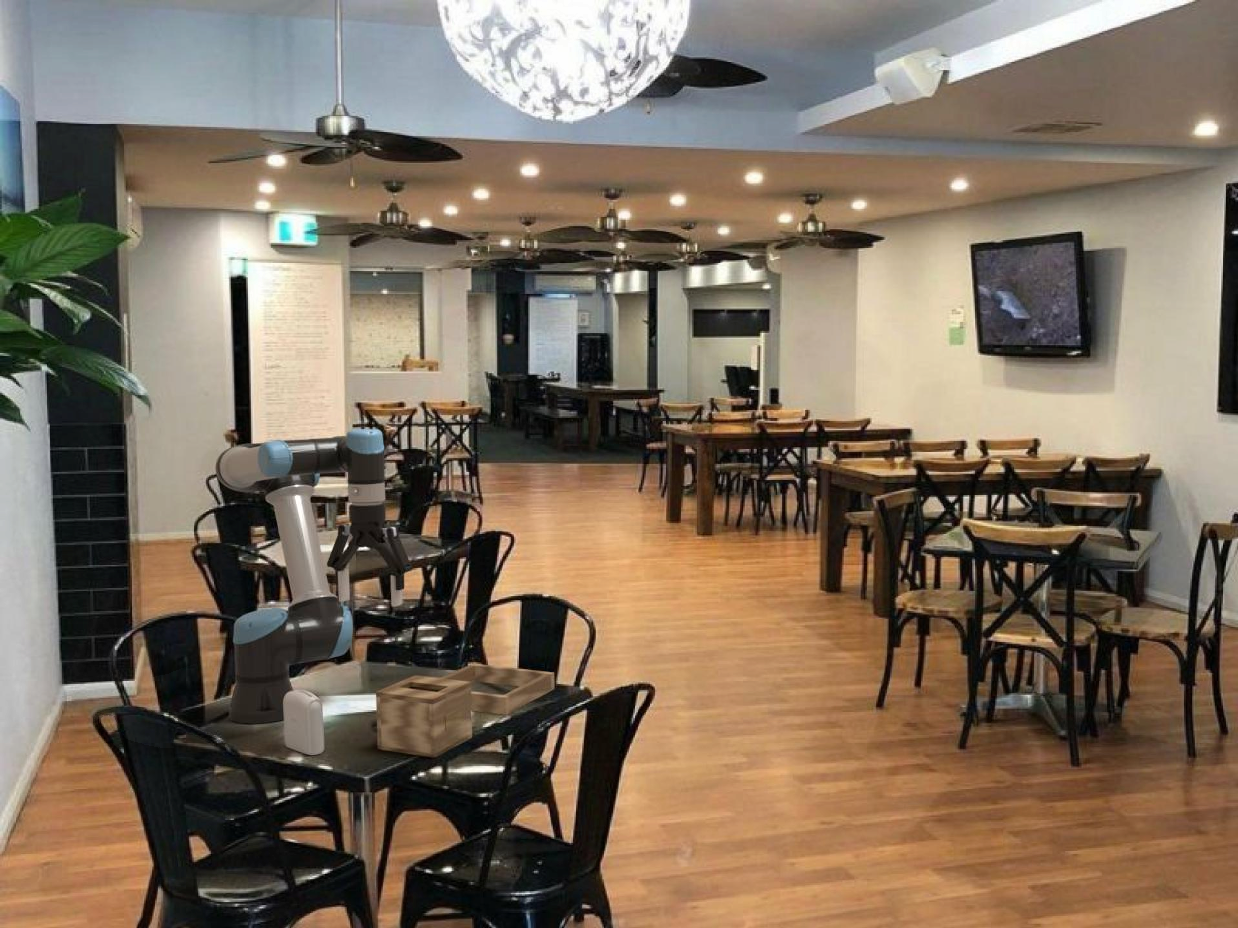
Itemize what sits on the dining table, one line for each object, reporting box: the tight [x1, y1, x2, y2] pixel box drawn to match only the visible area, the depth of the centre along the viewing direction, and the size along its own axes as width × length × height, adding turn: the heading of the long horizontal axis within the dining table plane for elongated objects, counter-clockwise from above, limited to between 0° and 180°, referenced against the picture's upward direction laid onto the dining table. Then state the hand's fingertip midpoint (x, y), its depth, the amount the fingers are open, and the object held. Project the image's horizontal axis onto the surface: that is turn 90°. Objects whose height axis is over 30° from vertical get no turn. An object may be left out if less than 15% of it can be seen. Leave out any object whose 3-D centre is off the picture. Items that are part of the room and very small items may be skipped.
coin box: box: [375, 674, 473, 759], centre depth 248 cm, size 14×14×12 cm
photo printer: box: [283, 689, 325, 756], centre depth 245 cm, size 10×4×12 cm, turn 47°
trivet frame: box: [441, 663, 555, 716], centre depth 283 cm, size 23×23×4 cm
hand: (370, 603), depth 252 cm, fingers open, 13 cm apart
